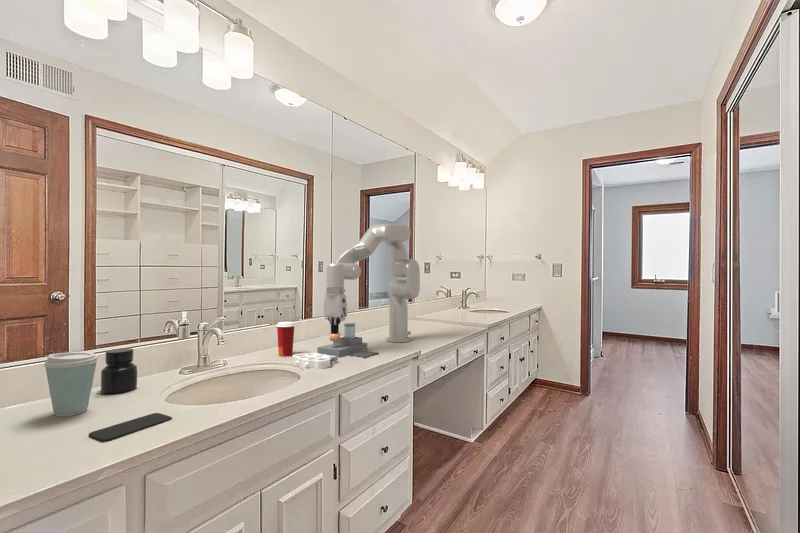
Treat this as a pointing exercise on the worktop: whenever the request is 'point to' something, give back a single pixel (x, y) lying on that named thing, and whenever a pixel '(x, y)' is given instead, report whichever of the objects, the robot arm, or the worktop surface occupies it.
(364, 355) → the mat
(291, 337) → the paper cup
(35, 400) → the worktop surface
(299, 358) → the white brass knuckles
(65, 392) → the disposable coffee cup
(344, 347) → the grey stepped block
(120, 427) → the phone
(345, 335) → the cylinder
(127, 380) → the ink bottle
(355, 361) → the worktop surface
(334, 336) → the plunger
